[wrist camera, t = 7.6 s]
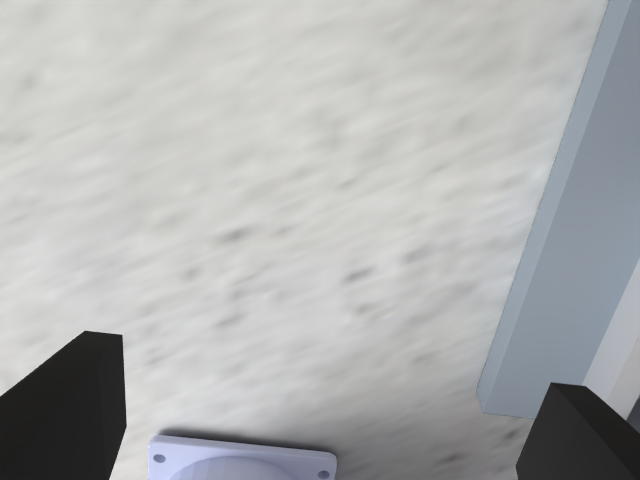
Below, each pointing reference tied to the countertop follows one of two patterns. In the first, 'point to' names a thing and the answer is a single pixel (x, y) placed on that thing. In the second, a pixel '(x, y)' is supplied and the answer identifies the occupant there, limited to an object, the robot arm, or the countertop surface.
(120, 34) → the countertop surface
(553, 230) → the floor track
